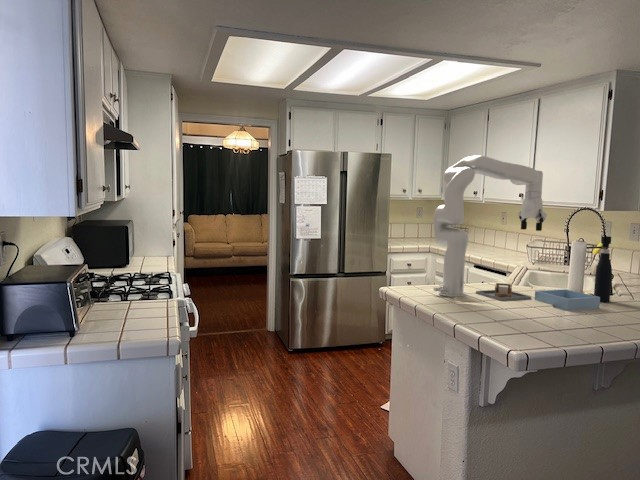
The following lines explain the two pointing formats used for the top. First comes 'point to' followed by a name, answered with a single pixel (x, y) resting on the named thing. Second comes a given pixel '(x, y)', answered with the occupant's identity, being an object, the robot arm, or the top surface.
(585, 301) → the bin
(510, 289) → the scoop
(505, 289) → the stone
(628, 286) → the top surface
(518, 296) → the tray
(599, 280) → the dark water bottle
